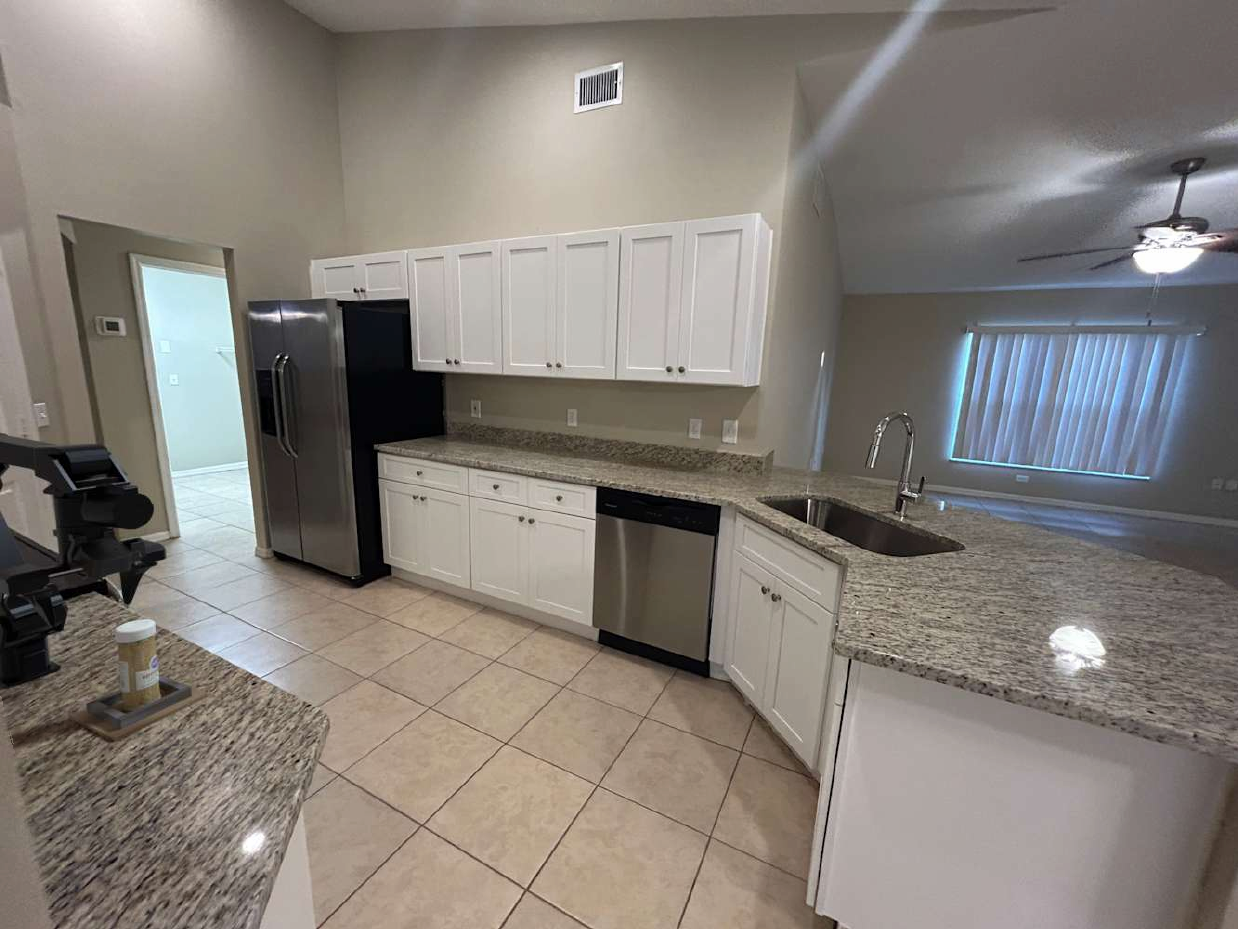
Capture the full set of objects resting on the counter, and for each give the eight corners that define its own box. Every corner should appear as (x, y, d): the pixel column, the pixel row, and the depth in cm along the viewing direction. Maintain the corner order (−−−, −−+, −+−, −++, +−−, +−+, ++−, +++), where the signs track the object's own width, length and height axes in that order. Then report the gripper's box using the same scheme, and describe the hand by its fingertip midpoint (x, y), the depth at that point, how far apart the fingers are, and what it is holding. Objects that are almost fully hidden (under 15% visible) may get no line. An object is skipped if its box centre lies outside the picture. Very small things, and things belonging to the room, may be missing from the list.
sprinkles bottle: (157, 707, 78) (151, 627, 76) (117, 716, 76) (110, 634, 74) (163, 692, 82) (158, 615, 80) (125, 700, 79) (119, 621, 77)
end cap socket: (68, 718, 75) (67, 706, 75) (163, 678, 86) (163, 667, 86) (114, 741, 71) (113, 729, 71) (208, 696, 82) (207, 685, 82)
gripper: (23, 546, 67) (35, 652, 70) (183, 517, 85) (188, 603, 87) (-18, 533, 71) (-5, 635, 73) (144, 508, 88) (150, 591, 91)
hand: (91, 614), depth 81 cm, fingers open, 9 cm apart
